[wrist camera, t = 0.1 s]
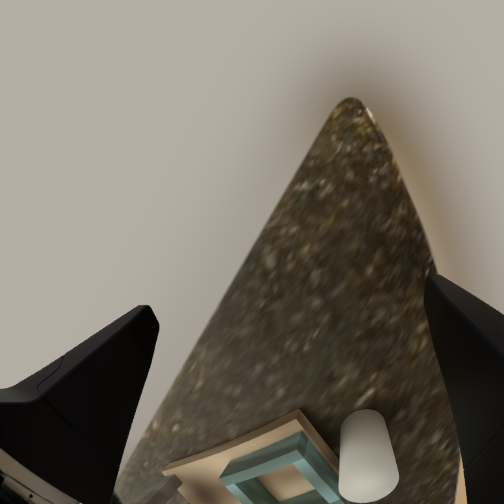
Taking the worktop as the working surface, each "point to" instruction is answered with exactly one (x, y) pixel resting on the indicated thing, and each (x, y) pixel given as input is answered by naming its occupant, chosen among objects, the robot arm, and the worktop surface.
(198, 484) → the socket board
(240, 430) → the worktop surface
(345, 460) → the peg
